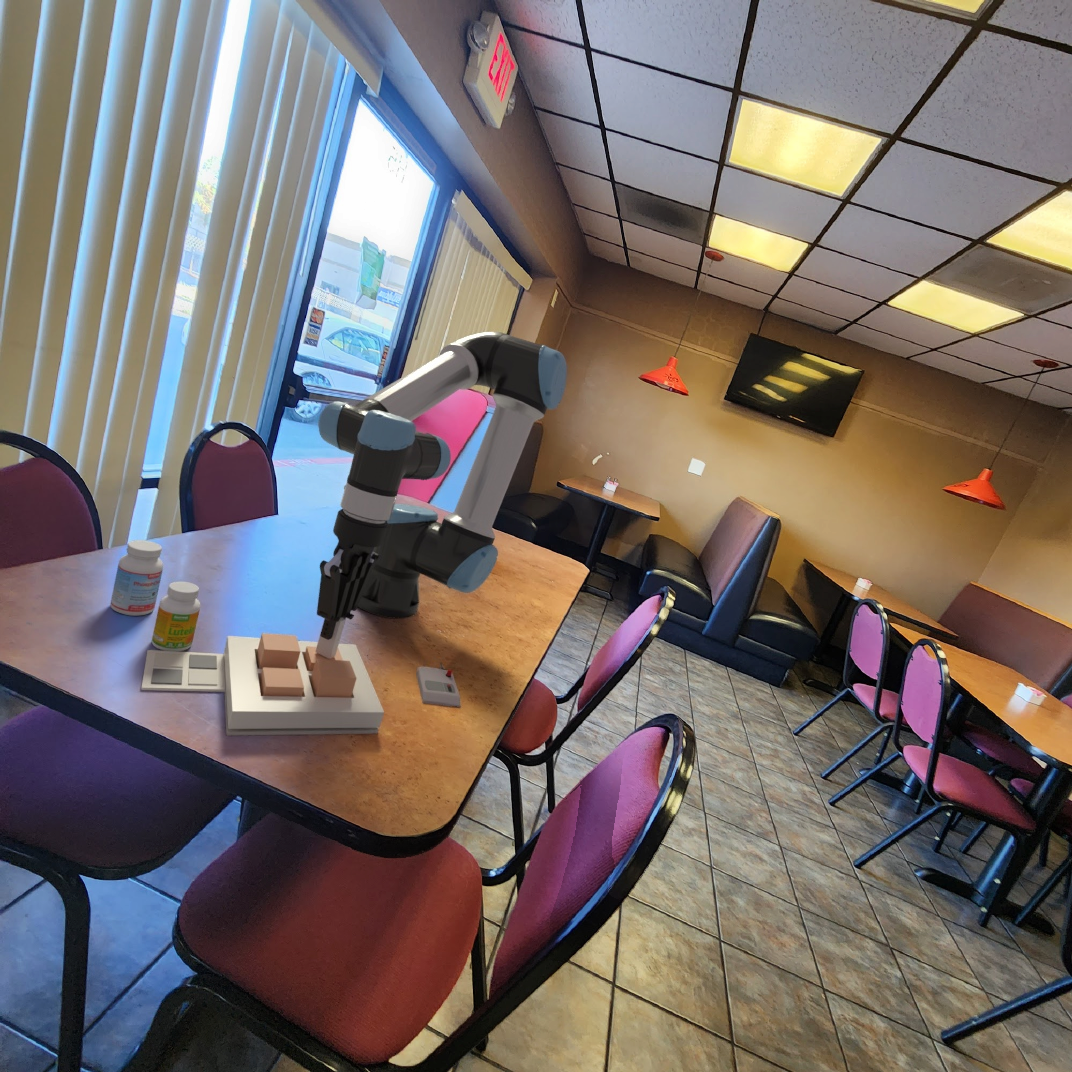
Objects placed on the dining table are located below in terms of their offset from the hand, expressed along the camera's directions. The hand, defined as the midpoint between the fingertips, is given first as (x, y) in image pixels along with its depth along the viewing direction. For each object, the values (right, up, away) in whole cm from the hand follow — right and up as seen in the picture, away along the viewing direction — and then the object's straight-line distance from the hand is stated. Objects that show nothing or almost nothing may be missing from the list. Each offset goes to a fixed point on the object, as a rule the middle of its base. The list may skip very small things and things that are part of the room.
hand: (325, 653), depth 92 cm
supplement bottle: (-23, +2, -2) cm, 23 cm away
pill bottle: (-33, +7, +4) cm, 34 cm away
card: (-18, -1, -8) cm, 19 cm away
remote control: (+15, -9, +12) cm, 21 cm away
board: (-3, -5, -4) cm, 7 cm away
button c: (+3, -4, -5) cm, 7 cm away
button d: (-1, -3, +1) cm, 4 cm away
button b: (-6, -1, -3) cm, 7 cm away
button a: (-4, -5, -9) cm, 10 cm away
